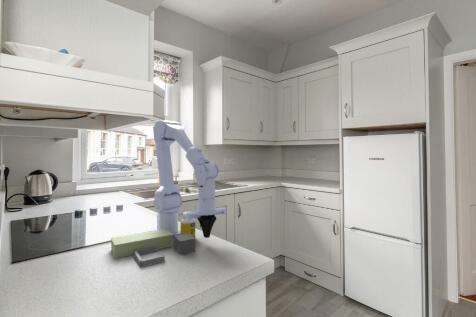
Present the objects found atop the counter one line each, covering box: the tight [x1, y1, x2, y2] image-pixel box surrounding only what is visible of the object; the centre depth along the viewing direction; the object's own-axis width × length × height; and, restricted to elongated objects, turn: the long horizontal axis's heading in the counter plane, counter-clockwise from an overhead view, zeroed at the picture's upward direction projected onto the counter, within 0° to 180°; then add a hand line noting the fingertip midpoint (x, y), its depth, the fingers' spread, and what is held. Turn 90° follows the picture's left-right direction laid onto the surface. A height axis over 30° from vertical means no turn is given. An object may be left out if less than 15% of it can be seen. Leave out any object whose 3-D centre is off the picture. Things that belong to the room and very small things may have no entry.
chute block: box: [173, 233, 196, 256], centre depth 83 cm, size 6×5×4 cm
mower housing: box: [110, 229, 174, 268], centre depth 80 cm, size 18×18×4 cm
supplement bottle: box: [179, 211, 196, 239], centre depth 93 cm, size 5×5×10 cm
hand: (206, 236), depth 87 cm, fingers closed
